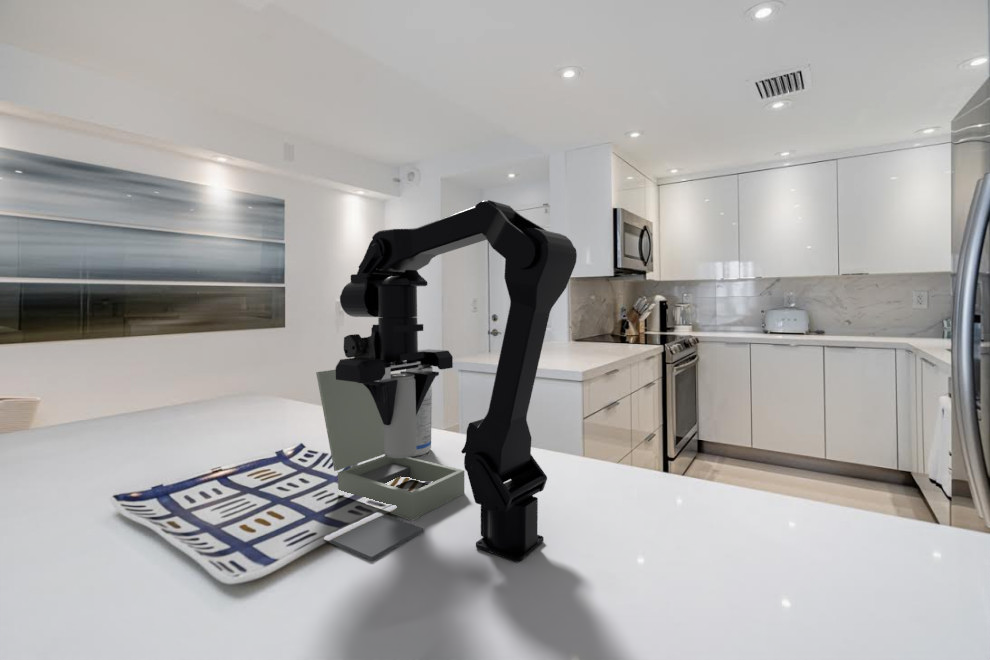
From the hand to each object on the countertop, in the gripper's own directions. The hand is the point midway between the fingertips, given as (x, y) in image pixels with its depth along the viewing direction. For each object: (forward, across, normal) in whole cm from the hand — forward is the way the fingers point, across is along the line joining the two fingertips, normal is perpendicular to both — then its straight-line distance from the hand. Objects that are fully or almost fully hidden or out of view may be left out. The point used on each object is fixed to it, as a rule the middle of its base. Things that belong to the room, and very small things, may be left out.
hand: (399, 421), depth 73 cm
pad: (+13, +9, +4) cm, 16 cm away
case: (+13, -3, -3) cm, 13 cm away
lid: (+1, -3, -13) cm, 13 cm away
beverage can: (+5, 0, 0) cm, 5 cm away
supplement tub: (+13, -20, -18) cm, 30 cm away
